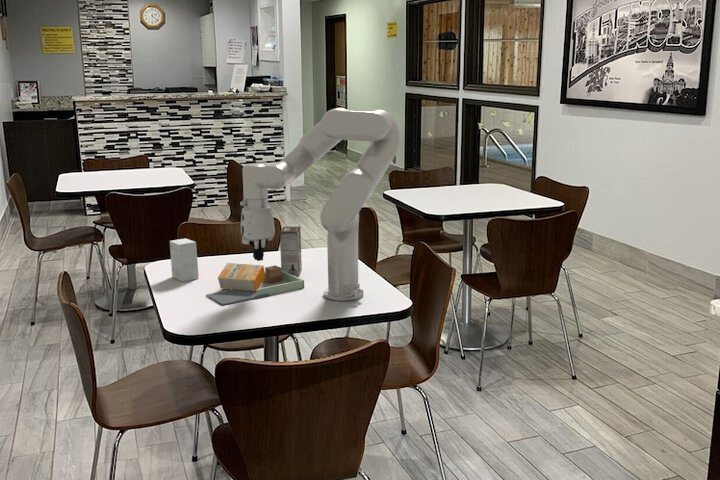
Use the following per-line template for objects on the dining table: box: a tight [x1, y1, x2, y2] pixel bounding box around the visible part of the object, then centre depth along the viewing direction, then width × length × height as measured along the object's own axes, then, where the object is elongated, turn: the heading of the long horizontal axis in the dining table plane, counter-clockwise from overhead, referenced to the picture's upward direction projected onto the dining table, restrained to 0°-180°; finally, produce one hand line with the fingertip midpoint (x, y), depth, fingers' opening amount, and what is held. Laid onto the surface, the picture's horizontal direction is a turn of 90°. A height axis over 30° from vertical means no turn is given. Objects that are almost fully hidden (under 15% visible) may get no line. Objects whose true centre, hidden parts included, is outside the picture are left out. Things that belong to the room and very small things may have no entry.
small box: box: [169, 237, 199, 283], centre depth 246 cm, size 8×6×13 cm
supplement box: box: [217, 262, 266, 291], centre depth 233 cm, size 8×5×13 cm
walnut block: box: [264, 265, 283, 285], centre depth 241 cm, size 4×4×5 cm
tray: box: [256, 271, 305, 296], centre depth 235 cm, size 15×17×2 cm
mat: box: [205, 289, 270, 306], centre depth 226 cm, size 12×16×1 cm
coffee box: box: [279, 225, 303, 278], centre depth 249 cm, size 9×6×16 cm
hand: (258, 259), depth 228 cm, fingers closed
